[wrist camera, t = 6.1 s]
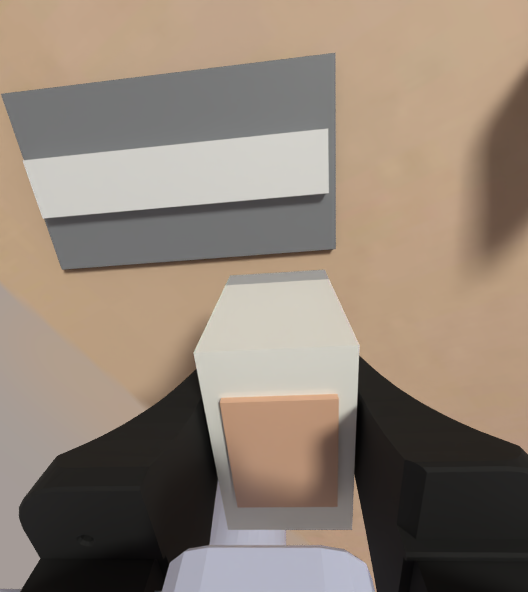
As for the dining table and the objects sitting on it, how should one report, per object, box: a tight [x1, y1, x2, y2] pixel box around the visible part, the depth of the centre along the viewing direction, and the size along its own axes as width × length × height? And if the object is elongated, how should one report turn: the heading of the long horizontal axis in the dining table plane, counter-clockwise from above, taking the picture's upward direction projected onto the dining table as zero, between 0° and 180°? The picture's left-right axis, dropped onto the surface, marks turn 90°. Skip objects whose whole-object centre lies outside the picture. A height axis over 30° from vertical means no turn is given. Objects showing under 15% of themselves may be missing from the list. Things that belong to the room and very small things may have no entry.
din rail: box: [1, 53, 336, 269], centre depth 18 cm, size 10×18×1 cm, turn 95°
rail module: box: [194, 270, 359, 530], centre depth 11 cm, size 7×4×6 cm, turn 5°
